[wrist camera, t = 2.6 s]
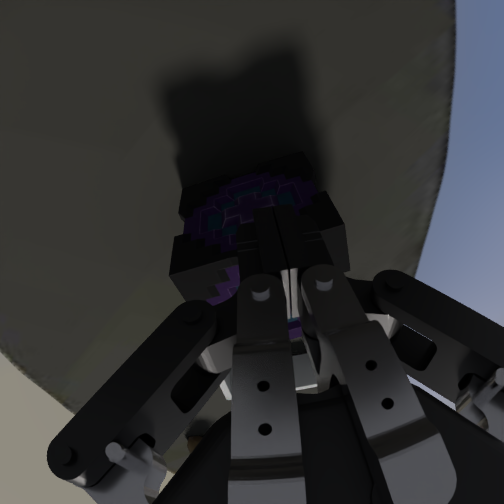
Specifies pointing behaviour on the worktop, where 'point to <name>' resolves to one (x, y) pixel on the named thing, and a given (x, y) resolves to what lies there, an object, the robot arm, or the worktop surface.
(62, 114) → the worktop surface
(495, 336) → the robot arm
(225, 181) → the energy cube
